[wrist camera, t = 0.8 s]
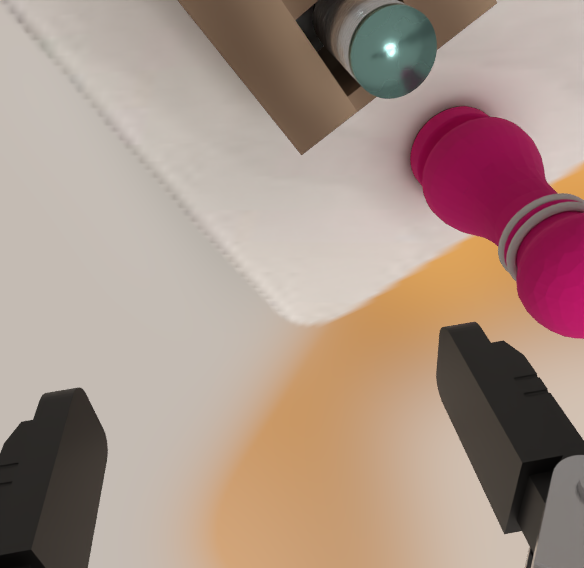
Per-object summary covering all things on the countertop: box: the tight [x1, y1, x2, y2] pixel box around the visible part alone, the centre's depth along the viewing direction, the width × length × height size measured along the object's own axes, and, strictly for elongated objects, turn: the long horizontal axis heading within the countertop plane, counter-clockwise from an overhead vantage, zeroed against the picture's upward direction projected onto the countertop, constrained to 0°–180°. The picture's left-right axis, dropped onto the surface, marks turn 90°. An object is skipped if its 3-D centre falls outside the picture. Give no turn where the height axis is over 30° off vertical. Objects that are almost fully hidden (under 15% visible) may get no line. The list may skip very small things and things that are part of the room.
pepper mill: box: [410, 106, 584, 339], centre depth 29 cm, size 7×7×20 cm
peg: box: [313, 0, 437, 99], centre depth 23 cm, size 3×3×8 cm
